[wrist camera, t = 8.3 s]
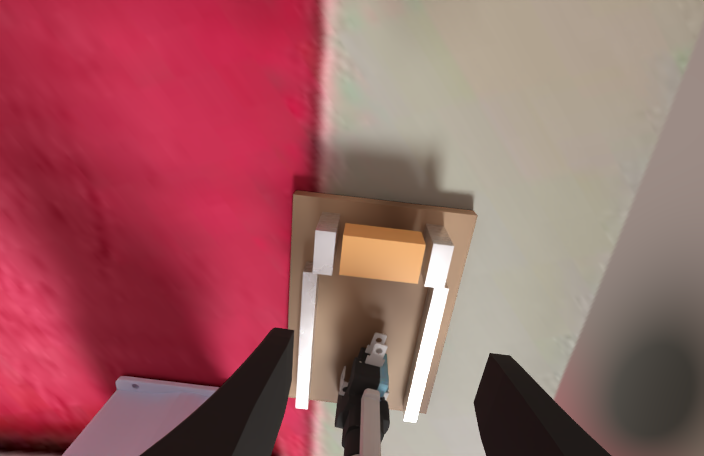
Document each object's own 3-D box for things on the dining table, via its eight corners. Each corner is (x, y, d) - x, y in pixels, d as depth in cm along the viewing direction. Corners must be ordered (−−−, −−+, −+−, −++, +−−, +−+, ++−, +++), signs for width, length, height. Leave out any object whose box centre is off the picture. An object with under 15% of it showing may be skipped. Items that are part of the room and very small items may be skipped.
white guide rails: (298, 393, 24) (291, 426, 22) (309, 210, 19) (300, 228, 17) (413, 406, 24) (418, 442, 22) (456, 227, 19) (468, 247, 17)
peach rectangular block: (341, 259, 19) (339, 274, 18) (345, 223, 18) (343, 235, 17) (414, 268, 19) (417, 284, 18) (421, 231, 18) (425, 244, 17)
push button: (341, 317, 22) (319, 489, 13) (422, 338, 22) (459, 522, 13) (316, 392, 24) (283, 581, 15) (389, 410, 25) (400, 607, 15)
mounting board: (287, 387, 25) (285, 396, 25) (296, 190, 20) (293, 194, 19) (424, 404, 25) (426, 413, 25) (473, 210, 19) (477, 215, 19)
